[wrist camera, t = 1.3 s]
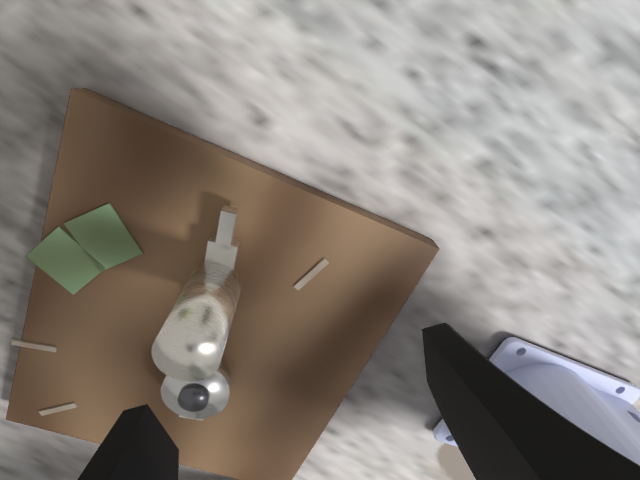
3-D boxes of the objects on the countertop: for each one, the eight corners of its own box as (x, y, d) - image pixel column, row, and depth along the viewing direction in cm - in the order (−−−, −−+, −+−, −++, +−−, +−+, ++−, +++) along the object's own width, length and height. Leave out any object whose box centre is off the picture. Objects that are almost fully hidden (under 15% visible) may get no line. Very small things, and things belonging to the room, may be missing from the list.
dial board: (432, 240, 18) (440, 249, 17) (285, 475, 25) (284, 492, 24) (73, 83, 15) (57, 84, 14) (10, 402, 21) (-5, 418, 20)
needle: (225, 412, 20) (202, 514, 16) (163, 402, 20) (120, 504, 15) (270, 215, 16) (256, 275, 11) (192, 197, 16) (144, 252, 11)
